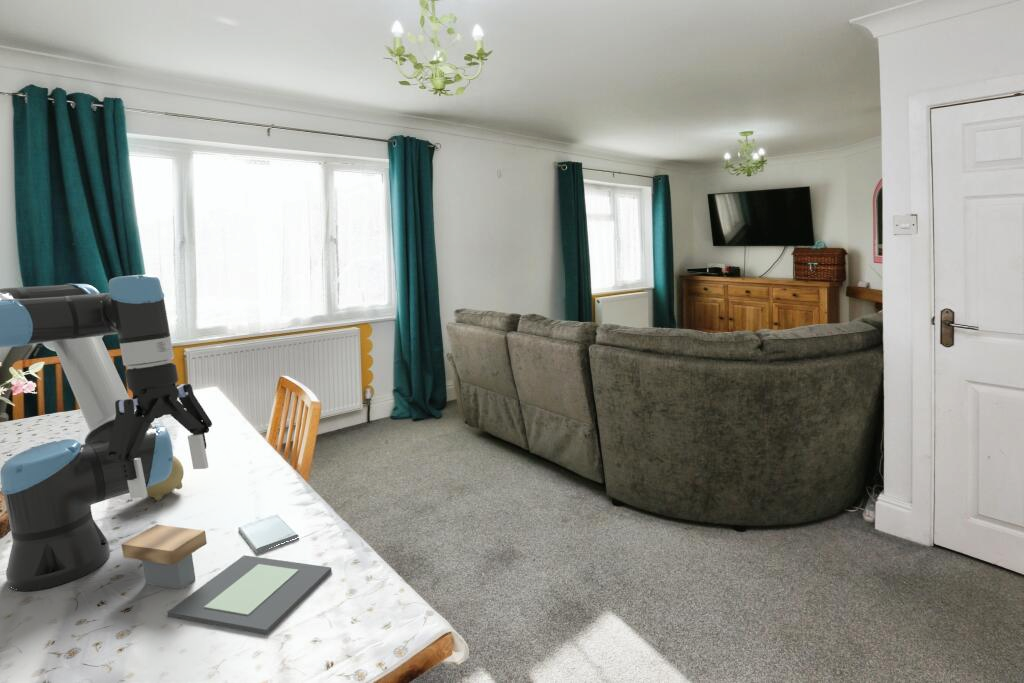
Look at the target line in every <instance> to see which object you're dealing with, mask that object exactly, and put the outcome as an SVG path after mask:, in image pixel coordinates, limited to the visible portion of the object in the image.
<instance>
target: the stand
mask: <svg viewBox="0 0 1024 683" xmlns="http://www.w3.org/2000/svg"><path fill="white" fill-rule="evenodd" d="M193 558H194V557H193V553H192V554H190V555H188V556H187V557H185V558H184V559H182V560H181V561H179V562H178V563H176V564H175V565H171V564H164V563H157V562H151V561H144V560H141V561H142V562H141V563H142V569H143V575H144V581H145V584H148V585H153V586H161V587H165V588H166V587H167V588H172V589H178V590H183V589H184V588H185V587H187V586H189V585H190V584H191V583H192V582H194V581H196V573H195V567H194V566H195V565H194V559H193Z"/></svg>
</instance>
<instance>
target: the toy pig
mask: <svg viewBox="0 0 1024 683" xmlns="http://www.w3.org/2000/svg"><path fill="white" fill-rule="evenodd" d="M183 478H184V467H183V464H182V463H181V461H180V460H179V459H178V458H177V457H176V455H175V456H174V455H173V466H172V471H171V474H170V476H169V477H168V478H167V479H166V480H164V481H162V482H160V483H157V484H154V485H151V486H149V487H148V488H146V489H147V494H148V496H146V497H147V498H148V497H149V498H154V499H155V500H156V501H157V502H158V501H159V502H160V501H161V500H162V499H163V497H164V496H165V495H167V494H169V493H171V492H173V491H174V490H175V489H176V490H181V489H182V488H183V483H182V482H183Z"/></svg>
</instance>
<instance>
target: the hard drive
mask: <svg viewBox="0 0 1024 683" xmlns="http://www.w3.org/2000/svg"><path fill="white" fill-rule="evenodd" d="M238 532H239V533H240V534H242V535H241V536H242V537H243V539H244V540H245V539H246V540H245V541H246V542H247V543H248V545H249V546H250V547H251V549H252V548H253V549H252V550H253V551H254V553H255V554H256V553H258V554H260V553H262V552H261V551H263V552H265V551H264V550H266V549H269V548H271V547H274V546H276V545H278V544H281V543H284V542H286V541H290V540H292V539H295V538H297V537H299V536H300V535H299V534H298V533H297V532H296V531H295V530H294V529H293V528H292V527H291V525H289V524H288V523H287V522H286V521H285V520H284V518H282V517H281V516H280V515H279V513H278V514H277V513H275V514H273V515H269V516H266V517H263V518H260V519H257V520H254V521H252V522H248V523H245V524H242V525H240V526H239V527H238ZM274 548H275V547H274ZM271 549H272V548H271ZM269 550H270V549H269ZM266 551H267V550H266Z"/></svg>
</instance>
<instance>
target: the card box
mask: <svg viewBox="0 0 1024 683" xmlns="http://www.w3.org/2000/svg"><path fill="white" fill-rule="evenodd" d="M206 535H207V534H206V530H203V529H202V530H201V529H195V528H187V527H179V526H171V525H163V524H155V525H153V526H151V527H150V528H148V529H146V530H145V531H143V532H141V533H139V534H137V535H135V536H133V537H132V538H129V539H128V540H126V541H124V542H122V543H121V550H122V556H123V558H124V559H131V560H132V559H133V560H136V561H137V560H139V561H142V560H144V561H151V562H157V563H164V564H171V565H175V564H176V563H178V562H179V561H181V560H182V559H184V558H185V557H187V556H188V555H190V554H192V555H193V553H194V552H196V551H198V550H199V549H201V548H203V547H204V546H205V545H207V544H208V542H207V541H208V540H207V536H206Z"/></svg>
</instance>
